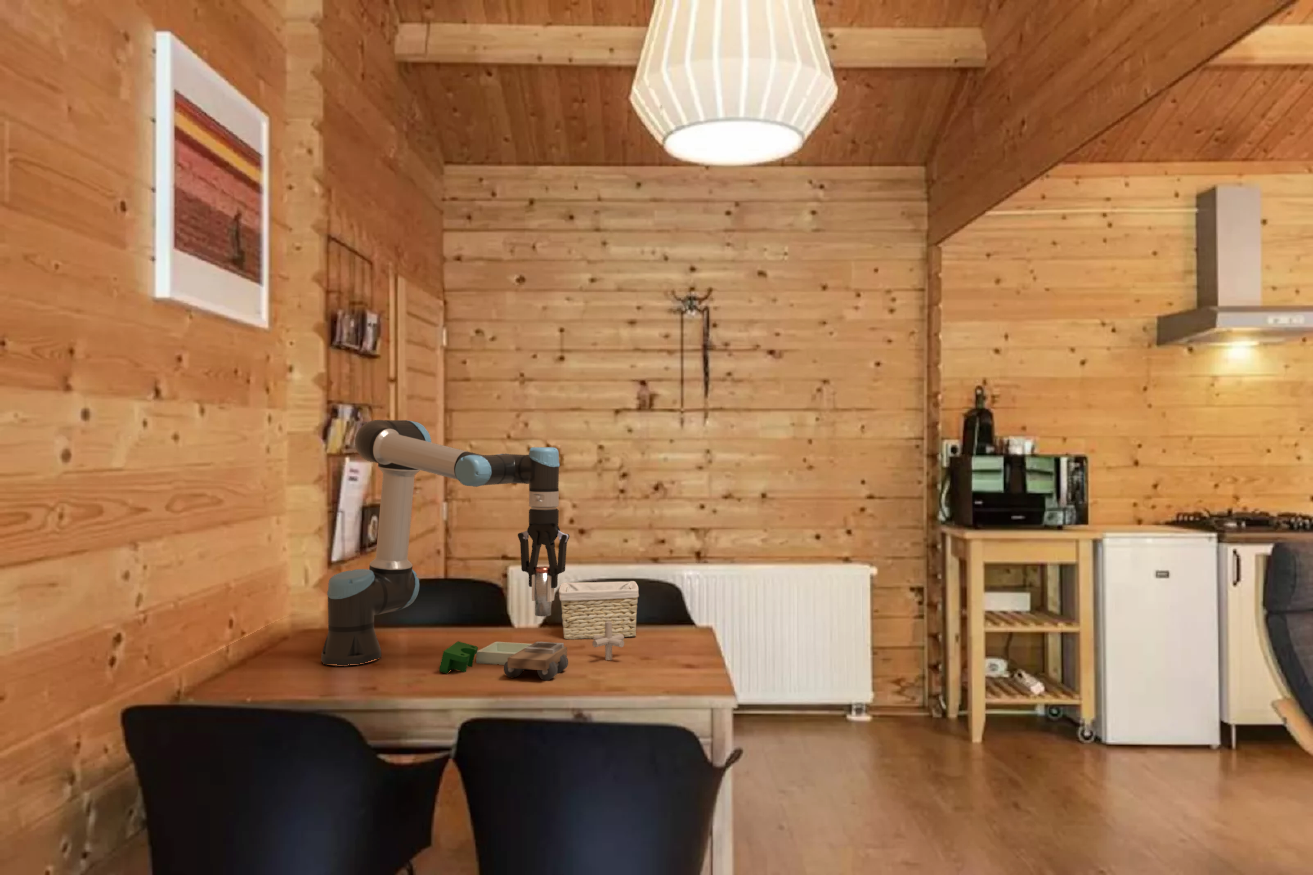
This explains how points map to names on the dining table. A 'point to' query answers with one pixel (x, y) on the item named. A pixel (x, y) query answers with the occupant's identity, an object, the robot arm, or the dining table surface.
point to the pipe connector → (608, 640)
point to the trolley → (538, 660)
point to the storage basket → (598, 608)
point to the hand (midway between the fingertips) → (542, 600)
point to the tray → (498, 652)
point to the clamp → (458, 657)
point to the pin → (541, 591)
